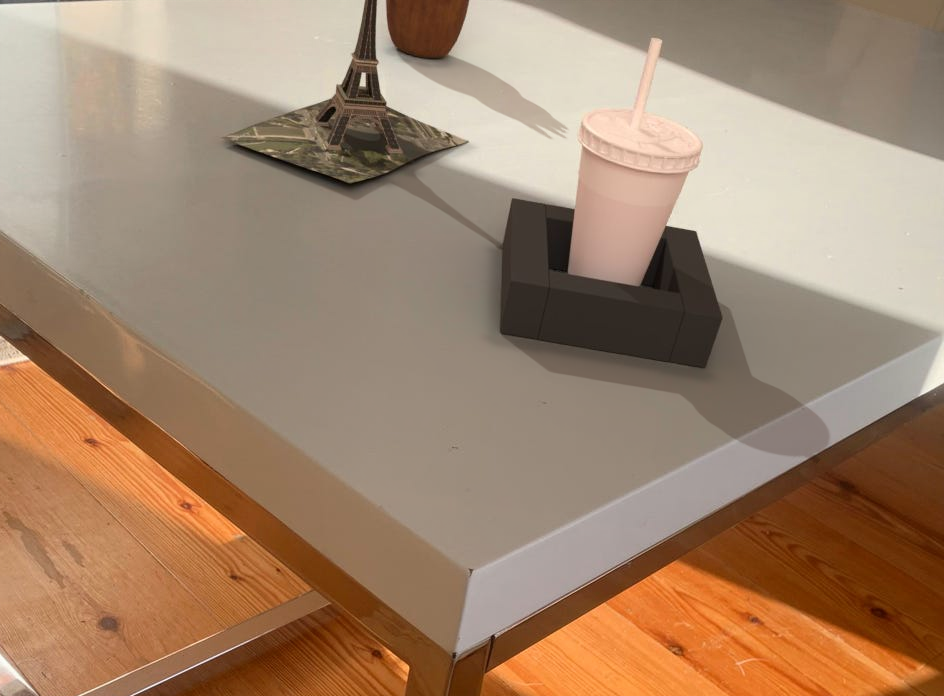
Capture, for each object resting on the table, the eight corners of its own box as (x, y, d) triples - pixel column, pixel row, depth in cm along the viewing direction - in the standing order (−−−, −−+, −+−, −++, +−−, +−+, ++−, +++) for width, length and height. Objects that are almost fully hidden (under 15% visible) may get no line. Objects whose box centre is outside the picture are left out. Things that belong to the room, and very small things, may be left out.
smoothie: (523, 276, 64) (580, 15, 55) (621, 275, 66) (690, 24, 58) (570, 332, 59) (639, 58, 51) (673, 329, 62) (756, 66, 53)
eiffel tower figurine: (350, 98, 83) (370, -107, 74) (469, 141, 80) (504, -67, 71) (220, 143, 72) (227, -91, 63) (353, 195, 69) (378, -44, 60)
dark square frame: (681, 277, 68) (696, 230, 66) (705, 368, 59) (723, 317, 57) (502, 245, 67) (511, 197, 65) (499, 333, 58) (510, 280, 56)
